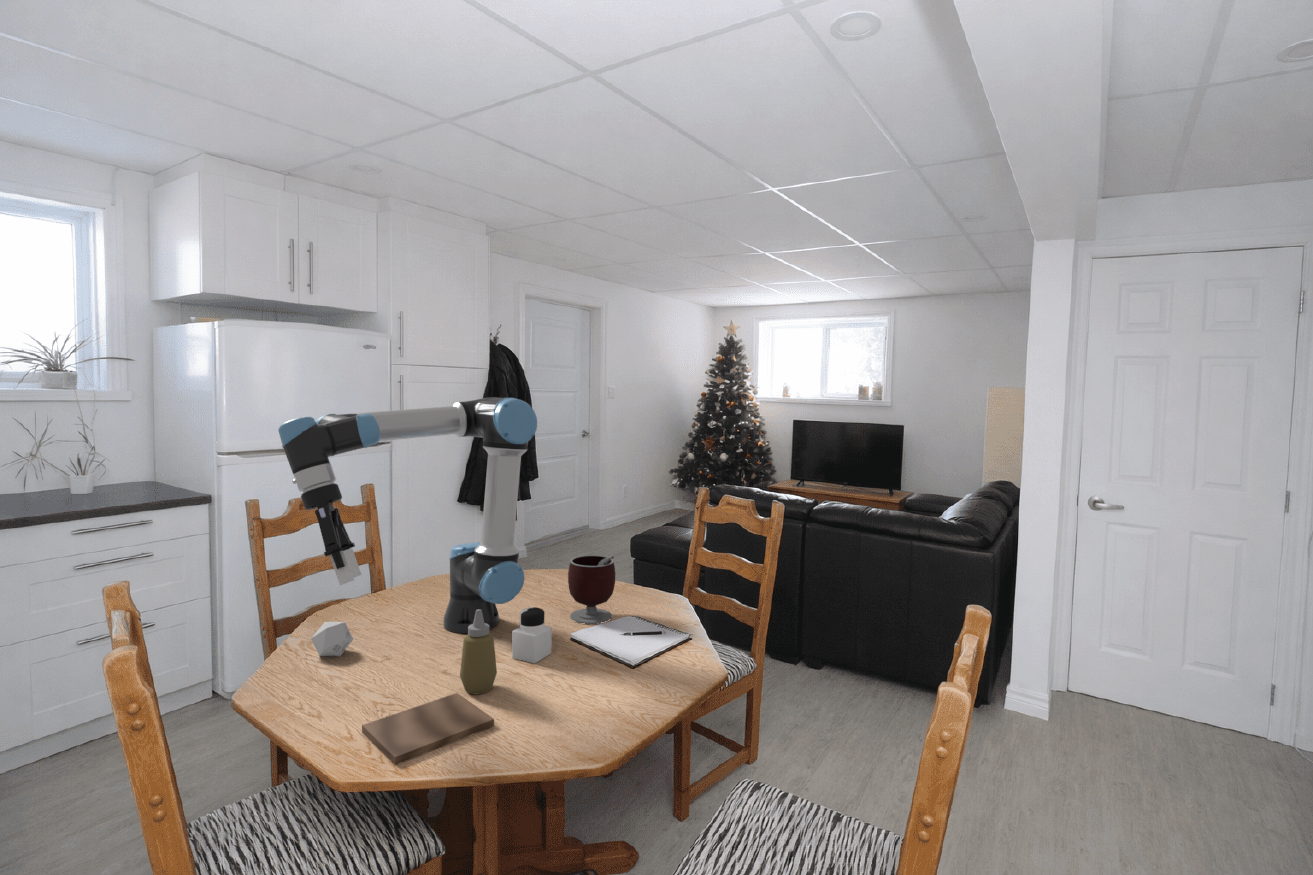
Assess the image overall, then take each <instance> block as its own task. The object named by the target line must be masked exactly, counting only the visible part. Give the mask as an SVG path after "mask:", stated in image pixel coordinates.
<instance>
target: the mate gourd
mask: <svg viewBox="0 0 1313 875" xmlns="http://www.w3.org/2000/svg"><path fill="white" fill-rule="evenodd" d="M614 558H615V556H613V555H611V556H605V555H598V554H591V555H590V554H586V555H578V556H575V557H572V558H571V559H570V560H569V562H570V563H569V566H568V571H567V572H568V573H567V584H568V590H569V593H570V596H571V597H572V598H573V600H574V601H575V602H576V603H577V604H581V605H584V606H586V607H585V608H580V609H576V610H574V611H572V612H571V613H570V615H569V616H570V617H569V618H571V619H572V620H574V621H576V622H578V623H577V624H579V623H585V624H595V625H598V624H597V623H601V622H605V621H608V620H609V619H611V620H612V617H613V614H612V613H611V611H609V610H607V609H603V608H597V606H598V605H599V606H600V605H602V604H604V603H607V602H608V600H609V599H610V598H611V597H612V595H613V593H614V589H615V586H616V568H615V561H614ZM571 619H570V620H571ZM572 620H571V621H572ZM576 622H575V623H576ZM608 622H609V621H608ZM585 624H584V625H585Z"/></svg>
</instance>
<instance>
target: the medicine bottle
mask: <svg viewBox="0 0 1313 875" xmlns="http://www.w3.org/2000/svg"><path fill="white" fill-rule="evenodd" d="M511 633H512V635H511V636H512V637H511V638H512V639H511V641H512V642H511V644H512V648H511V649H512V650H511V651H512V652H511V656H512V659H514V660H518V661H522V660H523V662H528V663H532V664H536V663H538V662H540V661H541V660H543V659H545V658H547V656H549V655H552V626H550V625H549V626H548V625H545V610H544V609H543V608H540V607H537V606H535V607H534V606H530V607H526V608H523V609H522V610H521V611H520V613H519V627H517V628H516V629H513V630H512V632H511Z"/></svg>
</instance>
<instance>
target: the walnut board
mask: <svg viewBox="0 0 1313 875" xmlns="http://www.w3.org/2000/svg"><path fill="white" fill-rule="evenodd" d="M493 727H495V718H494V717H492V716H491V715H489V714H488V713H487V712H485V711H484V710H482V709H481V708H479V707H478V706H476V705H475V704H473V703H472V702H471V701H470V700H468V699H467V698H465V697H464V696H462V695H461V694H460V693H458V692H456V693H453V694H449V695H447V696H444V697H441V698H438V699H434V700H432V701H429V702H426V703H423V704H421V705H418V706H414V707H411V708H409V709H406V710H403V711H400V712H399V711H398V712H397V713H394V714H391V715H387V716H385V717H382V718H380V719H376V720H374V721H370V722H368V723H364V724H362V725H361V733H362V734H363V735H364V736H365V737H366V738H367V739H368V740H369V741H370V742H371V743H372V744H373V745H374V746H375V747H376V748H377V749H378V750H379V751H380V752H381V753H382V754H383V755H384V756H385V757H386V758H387V759H388V760H389V761H390V760H391V761H392V762H391V761H390V762H391V763H392V764H393V763H394V764H393V766H397V765H400V764H402V763H404V761H405V762H407V761H409V760H412V759H415V758H417V757H419V756H422V755H425V754H426V753H430V752H431V751H435V750H438V749H440V748H442V747H445V746H448V745H450V744H452V743H455V742H457V741H460V740H463V739H465V738H467V737H470V736H472V735H473V736H474V735H475V734H478V733H480V732H482V731H486V730H488V729H491V728H493ZM406 760H407V761H406ZM401 762H402V763H401ZM399 763H400V764H399Z"/></svg>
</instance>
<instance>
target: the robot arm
mask: <svg viewBox="0 0 1313 875" xmlns="http://www.w3.org/2000/svg"><path fill="white" fill-rule="evenodd" d="M537 428H538V418H537V414H536V412H535V410H534V409H533V407H532V406H531V405H530V404H529V403H528V402H526V401H524V400H522V399H520V398H519V399H518V398H515V397H497V396H493V397H492V396H489V397H484V398H477V399H474V400H467V401H465V400H464V401H455V402H454V403H453V404H452V406H439V407H424V408H423V407H422V408H411V409H409V408H408V409H395V410H385V411H384V410H383V411H371V412H356V413H343V414H336V413H329V414H328V413H327V414H325V415H322V416H321V417H319V418H318V419H317V420H316V419H315V418H314V417H312V416H305V417H298V418H297V417H296V418H294V419H291V420H288V421H285V422H283V423H282V424H280V425H279V427H278V430H277V431H278V434H279V437H280V441H281V448H283V451H284V454H285V455H286V456H285V457H286V458H287V461H288V463H289V464H288V465H289V468H290V469H291V470H290V471H292V472H291V473H292V475H293V477H294V479H292V484H293V485H294V484H296V487H297V489H298V491H299V492H302V493H301V495H300V498H301V501H302V503H303V504H302V505H303V506H304V509H305V510H306V511H312V510H314V514H315V515H316V519H317V522H318V526H319V530H320V533H321V534H320V535H321V538H322V541H323V545H324V552H323V554H324V556H325V557H328V556H329V558H330V561H331V562H330V563H331V564H332V566H333V570H334V572H335V575H336V579H337V580H338V583H339V586H342V585H345V584H348V583H351V582H353V581H355V579H354V578H357V577H359V576H362V571H361V570H360V566H359V564H358V561H357V558H356V555H355V552H354V550H353V548H355V547H356V545H355V542H352V540H351V538H350V537H349V535H348V532H347V528H346V527H345V525H344V523H343V520H342V518H341V513H340V511H339V508H337V507H335V506H334V504H333V503H336V502H338V501H339V502H340V501H341V500H342V498H343V495H342V492H341V489H340V487H339V484H337V483H335V482H336V481H337V477H336V476H335V472H334V469H333V466H332V463H331V462H330V459H329V457H335V456H337V455H341V454H344V453H345V454H346V453H349V452H352V451H356V450H361V449H364V448H365V449H367V448H368V447H371V446H375V445H376V444H378V443H379V442H387V441H394V440H395V441H398V440H406V439H409V440H410V439H417V438H418V439H419V438H426V437H427V438H428V437H429V438H430V437H436V436H437V437H438V436H449V435H450V436H451V435H455V436H457V438H463V437H464V438H465V437H467V438H468V437H475V438H483V439H482V449H483V450H485V451H486V453H487V461H486V462H487V465H486V477H485V489H484V501H483V514H482V515H483V516H482V524H481V525H482V526H481V538H480V539H481V540H480V542H467V543H461V544H457V545H454V546H452V547H451V549H450V552H449V553H450V554H449V600H448V603H447V607H446V610H445V612H444V616H443V628H444V629H445V630H446V631H449V632H453V633H459V634H468V626H469V625H471V624H473V622H474V618H475V613H476V610H478V609H481V610H482V614H483V619H484V623H486V624H488V625H489V630H491V629H493V628H495V627H496V626H498V625H499V621H500V615H499V614H500V613H499V611H498V608H497V605H503V604H506V603H508V602H511V601H512V600H514V599H515V598H516V596H517V595H519V594H520V592H521V591H522V589H523V586H524V583H525V572H524V569H523V568H522V566H521V565H520V564H519V557H520V555H519V554H520V550H519V549H518V548H517V547H516V546H515V532H516V523H517V510H518V496H519V495H518V494H519V485H520V473H521V462H522V460H521V459H522V456H523V455H524V454H525V453H526V452H527V451H528V445H529V442H530V441H531V440H532V438H533V437H534V436H535V435H536V432H537V430H538V429H537Z"/></svg>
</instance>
